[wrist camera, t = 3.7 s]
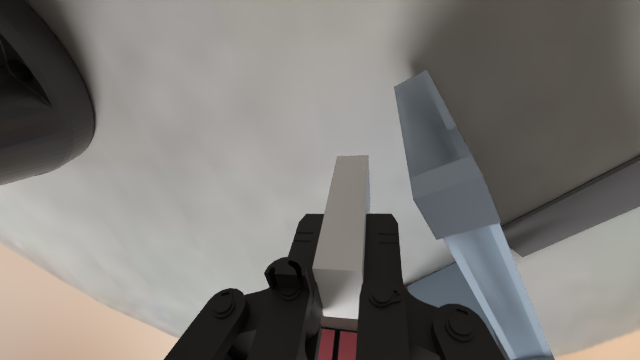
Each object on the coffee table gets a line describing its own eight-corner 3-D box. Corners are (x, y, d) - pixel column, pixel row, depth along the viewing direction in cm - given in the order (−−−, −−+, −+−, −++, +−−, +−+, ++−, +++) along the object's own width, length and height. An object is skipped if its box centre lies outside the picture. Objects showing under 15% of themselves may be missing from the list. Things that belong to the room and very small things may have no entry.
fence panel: (391, 290, 28) (399, 443, 19) (465, 253, 23) (523, 433, 14) (405, 299, 29) (419, 452, 20) (480, 264, 24) (545, 445, 15)
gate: (499, 242, 21) (570, 396, 13) (474, 249, 22) (527, 397, 14) (426, 69, 15) (482, 175, 7) (394, 86, 15) (413, 199, 8)
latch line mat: (492, 231, 22) (494, 234, 21) (788, 79, 13) (795, 81, 13) (520, 254, 23) (522, 257, 22) (812, 124, 14) (820, 127, 14)
